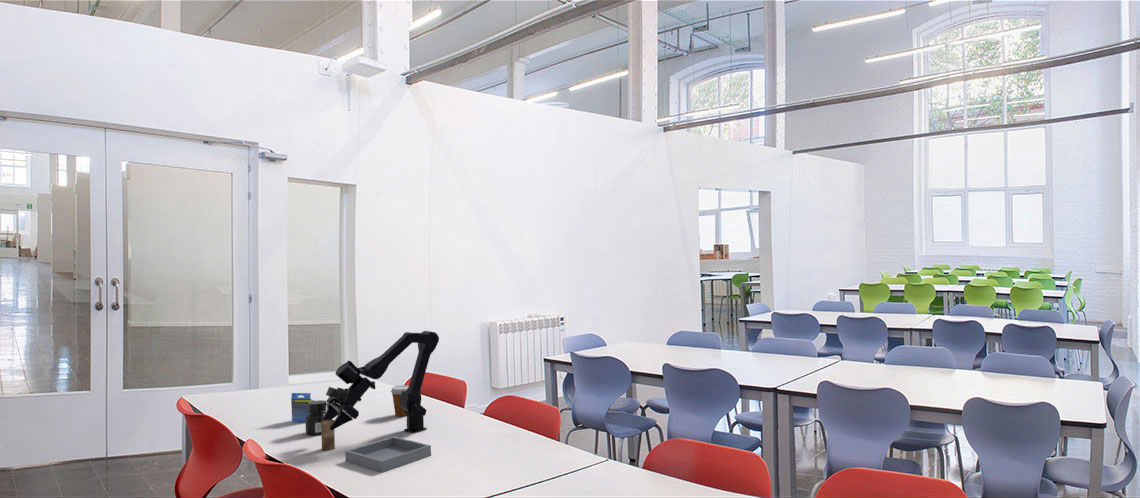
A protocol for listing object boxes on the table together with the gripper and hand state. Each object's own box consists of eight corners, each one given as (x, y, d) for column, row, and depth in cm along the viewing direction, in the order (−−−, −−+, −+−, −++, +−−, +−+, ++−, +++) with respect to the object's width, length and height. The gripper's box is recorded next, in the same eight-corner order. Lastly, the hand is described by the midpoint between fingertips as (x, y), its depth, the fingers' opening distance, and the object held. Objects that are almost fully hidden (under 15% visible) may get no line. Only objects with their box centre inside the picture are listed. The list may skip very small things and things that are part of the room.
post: (337, 448, 232) (336, 420, 232) (326, 451, 228) (325, 423, 229) (330, 446, 235) (329, 418, 235) (319, 449, 231) (318, 421, 231)
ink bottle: (320, 436, 248) (320, 405, 248) (300, 435, 250) (299, 404, 250) (334, 429, 257) (334, 399, 257) (315, 428, 259) (314, 399, 259)
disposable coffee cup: (411, 417, 273) (410, 389, 273) (388, 418, 273) (388, 389, 273) (416, 412, 283) (416, 384, 283) (395, 412, 283) (394, 385, 283)
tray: (431, 455, 221) (430, 445, 221) (382, 472, 205) (382, 461, 205) (394, 446, 233) (393, 436, 233) (345, 461, 217) (345, 451, 217)
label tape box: (316, 419, 274) (315, 390, 274) (311, 422, 270) (310, 393, 270) (296, 419, 275) (295, 391, 275) (291, 422, 271) (290, 393, 271)
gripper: (331, 375, 242) (301, 409, 235) (349, 381, 228) (318, 418, 220) (352, 392, 247) (323, 426, 240) (371, 400, 232) (341, 437, 225)
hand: (326, 426), depth 231 cm, fingers open, 9 cm apart
